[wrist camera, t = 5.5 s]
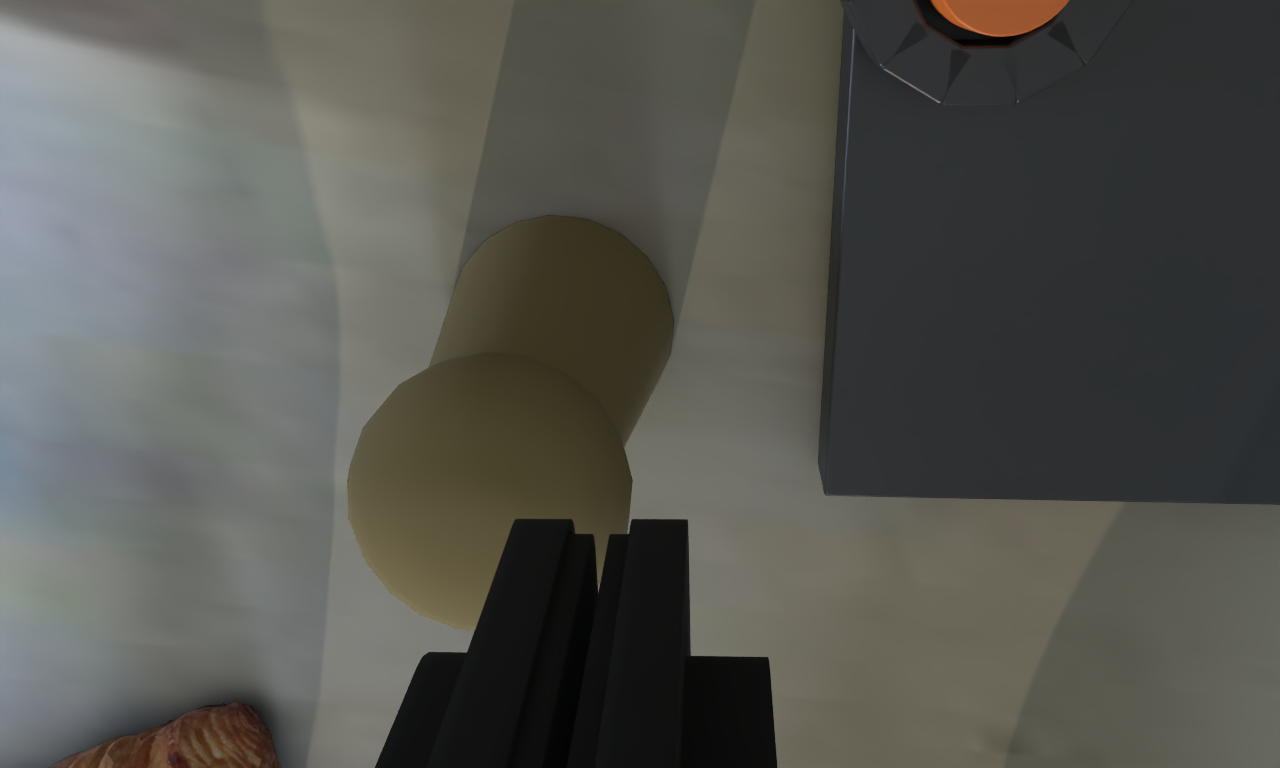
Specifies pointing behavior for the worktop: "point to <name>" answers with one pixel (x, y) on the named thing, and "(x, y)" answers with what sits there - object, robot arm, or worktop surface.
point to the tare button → (998, 14)
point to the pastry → (189, 743)
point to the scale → (1056, 256)
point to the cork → (512, 413)
